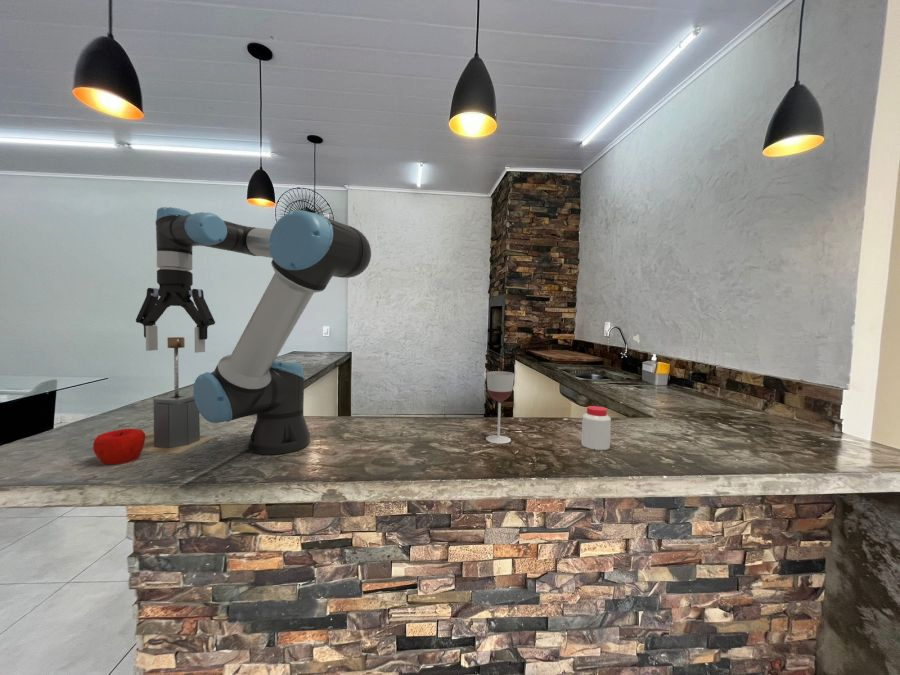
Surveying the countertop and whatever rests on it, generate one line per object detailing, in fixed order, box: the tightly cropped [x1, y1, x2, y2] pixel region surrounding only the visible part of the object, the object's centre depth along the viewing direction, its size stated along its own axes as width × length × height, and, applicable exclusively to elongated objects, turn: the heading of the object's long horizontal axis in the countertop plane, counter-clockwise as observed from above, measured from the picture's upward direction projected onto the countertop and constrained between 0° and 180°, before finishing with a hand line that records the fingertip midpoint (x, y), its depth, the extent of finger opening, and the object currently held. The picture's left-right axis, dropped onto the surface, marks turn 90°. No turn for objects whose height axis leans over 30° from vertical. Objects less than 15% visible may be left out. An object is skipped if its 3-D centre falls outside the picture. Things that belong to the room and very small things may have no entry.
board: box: [142, 432, 216, 454], centre depth 98 cm, size 22×13×1 cm, turn 85°
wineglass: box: [485, 370, 515, 444], centre depth 111 cm, size 8×9×20 cm
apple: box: [92, 428, 146, 465], centre depth 86 cm, size 9×9×8 cm
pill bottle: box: [580, 405, 612, 451], centre depth 108 cm, size 8×8×11 cm
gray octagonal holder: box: [152, 393, 201, 448], centre depth 99 cm, size 10×12×12 cm
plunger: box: [166, 336, 186, 398], centre depth 98 cm, size 7×7×20 cm
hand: (175, 351), depth 98 cm, fingers open, 13 cm apart
